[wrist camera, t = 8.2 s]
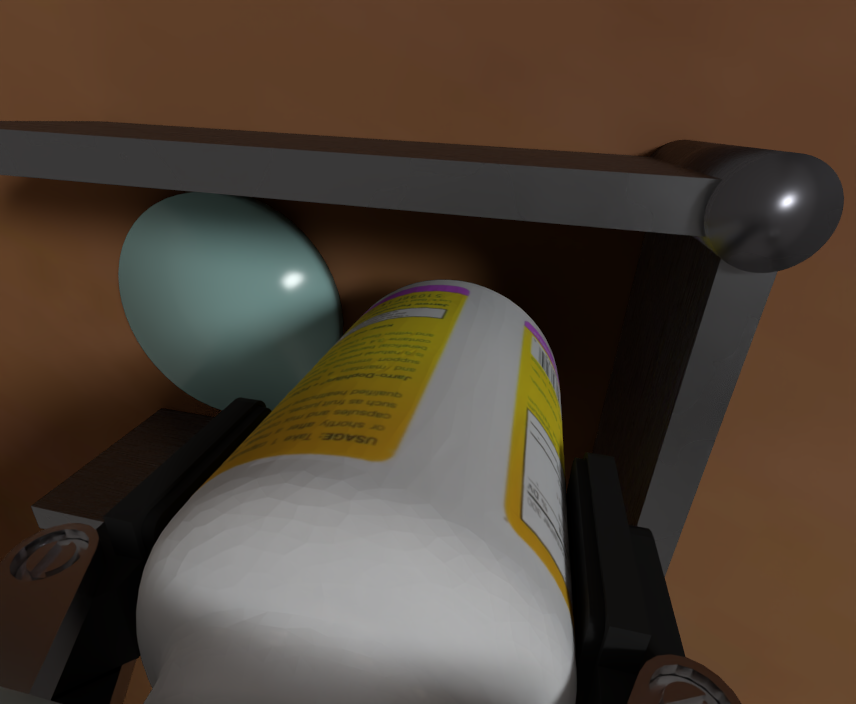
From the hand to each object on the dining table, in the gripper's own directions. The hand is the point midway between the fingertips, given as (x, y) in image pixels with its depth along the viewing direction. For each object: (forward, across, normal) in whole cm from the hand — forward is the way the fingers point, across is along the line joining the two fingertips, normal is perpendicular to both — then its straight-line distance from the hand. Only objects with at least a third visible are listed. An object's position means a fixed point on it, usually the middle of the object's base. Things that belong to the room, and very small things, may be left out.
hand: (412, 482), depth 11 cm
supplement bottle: (+5, 0, 0) cm, 5 cm away
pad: (+8, +9, 0) cm, 12 cm away
